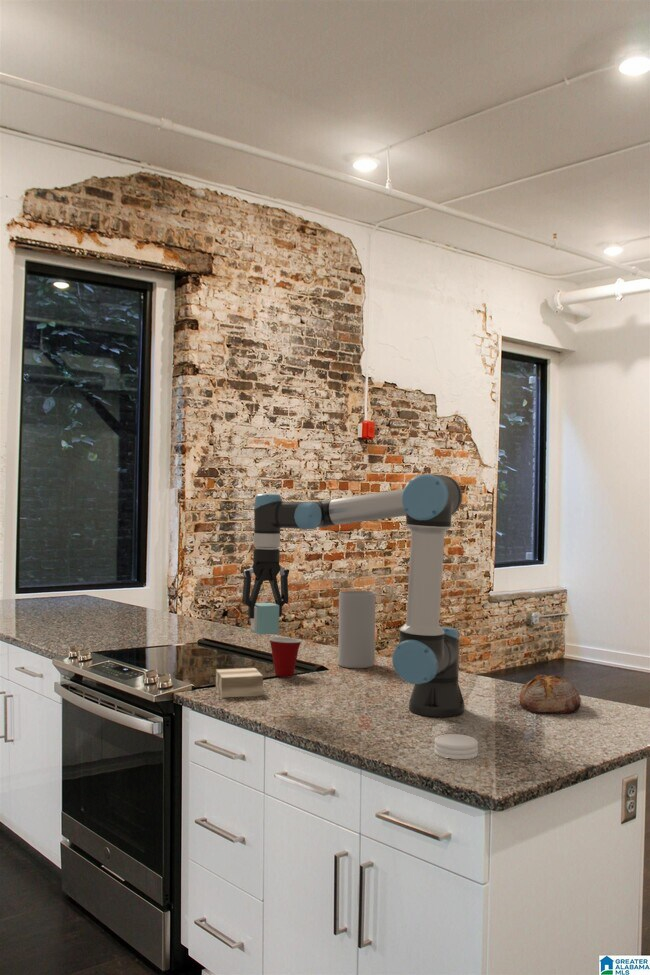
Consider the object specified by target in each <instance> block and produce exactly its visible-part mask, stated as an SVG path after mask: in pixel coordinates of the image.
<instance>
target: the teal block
mask: <svg viewBox="0 0 650 975" xmlns="http://www.w3.org/2000/svg"><path fill="white" fill-rule="evenodd" d="M255 607H257V631H254V630H252V629H251V628H250V632H252V633H254V634H256V635H259V636H261V635H276V634H280V632H279V631H280V617H279V605H277V604H276V603H273V602H258V603H257V602H256V604H255Z"/></svg>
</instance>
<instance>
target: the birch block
mask: <svg viewBox="0 0 650 975" xmlns="http://www.w3.org/2000/svg"><path fill="white" fill-rule="evenodd" d="M215 690H216V691H217V693H218V694H219V696H220V697H221V699H222V698H238V697H239V698H240V697H243V698H244V697H258V696H259V697H260V696H263V695H264V675H263V674H262V673H261V672H260V671H259V670H258V669H257V668H256V667H241V668H238V667H237V668H216V669H215Z"/></svg>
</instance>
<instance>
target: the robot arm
mask: <svg viewBox="0 0 650 975" xmlns="http://www.w3.org/2000/svg"><path fill="white" fill-rule="evenodd" d="M254 498H255V499H254V508H253V511H254V514H253V515H254V518H253V519H254V520H253V522H254V523H253V524H254V526H253V527H254V530H253V547H254V549H253V551H252V552H253V555H252V556H253V557H252V560H253V564H252V566H251V567H250V568H248V569H243V570H242V575H243V588H242V599H241V602H242V603H241V604H243V605H245V606H247V607H248V610H247V611H248V612H247V613H248V616H247V617H248V618H249V619H250V630H251V629H252V630H254V631H257V607H255V604H256V603H257V600H258V597H259V594H260V591H261V587H262V585H263V583H264V582H266V581H268V582H269V584H270V588H271V592H272V595H273V598H274V599H273V600H274V602H275V603H274V604H277V605H279V618H281V617H283V616H282V615H283V607H284V605H285V604H289V585H288V584H289V580H288V579H289V578H288V577H289V574H290V570H289V569H287V568H283V567H281V565H280V560H281V559H280V558H281V557H280V556H281V551H280V549H279V548H280V546H281V529H297V530H299V529H300V530H303V531H305V530H316V529H317V528H328V527H331V526H337V525H338V526H339V525H345V524H352V523H360V522H369V521H377V520H382V519H383V520H384V519H391V518H401V517H406V519H405V525H406V526H407V528H408V529H409V530H410V532H411V534H410V550H409V567H408V583H407V584H408V585H407V586H408V588H407V601H406V604H407V605H406V617H405V618H406V621H405V623H404V624H403V625H402V626H401V627H400V628H399V638H398V640H399V641H398V644H397V645H396V646H395V648H394V650H393V653H392V657H391V658H392V666H393V669H394V671H395V673H396V675H398V676H399V678H400V679H402V680H403V681H405V682H406V683H409V684H412V685H413V688H412V692H411V696H410V698H409V701H408V703H409V704H408V710H409V711H410V712H411V713H413V714H416V715H421V716H426V717H435V718H443V717H444V718H445V717H449V718H451V717H456V716H457V717H458V716H460V715H462V714H464V713H465V701H464V698H463V695H462V691H461V687H460V685H459V684H460V683H459V670H460V669H459V662H460V661H459V658H460V657H459V656H460V655H459V653H460V637H459V636H460V634H459V630H458V629H456V628H454V627H447V626H446V627H445V626H440V615H441V600H442V597H441V596H442V583H443V563H444V549H445V548H444V547H445V546H444V545H445V534H446V532H448V531H449V530H450V529H452V528H451V527H452V516H453V515H454V514H455V513H457V511H458V510H460V509H459V508H460V507H461V505H462V502H463V491H462V488H461V486H460V485H459V483H458V482H457V481H456V480H455V479H454V478H452V477H450V476H448V475H443V474H435V473H434V474H433V473H423V474H421V475H416V476H415V477H413V478H411V479H410V480H409V481H408V482H407V483H406V485H405V486H404V488H401V489H394V490H387V491H383V492H382V491H380V492H375V493H374V492H373V493H368V494H367V493H366V494H360V495H354V496H348V497H342V498H341V497H339V498H335V499H327V500H320V501H283V500H282V496H281V495H280V494H277V493H275V494H273V493H258V494H257V495H256V496H255V497H254ZM253 574H254V576H255V578H254V582H253V587H251V585H252V576H253ZM278 575H279V576H280V588H279V584H278V579H277V578H278V577H277V576H278ZM251 588H252V589H251Z"/></svg>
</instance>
